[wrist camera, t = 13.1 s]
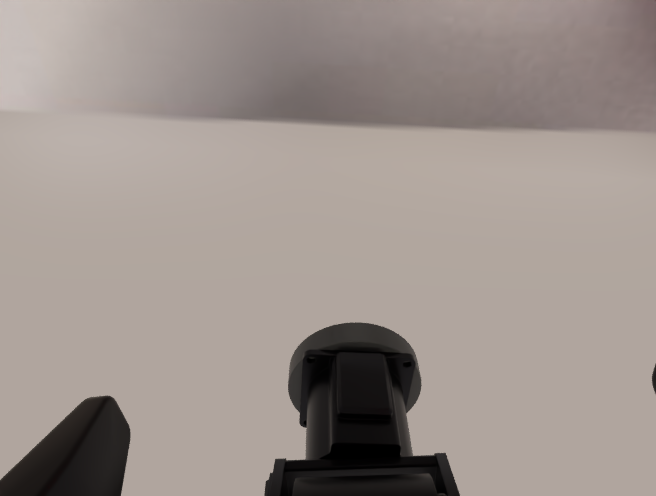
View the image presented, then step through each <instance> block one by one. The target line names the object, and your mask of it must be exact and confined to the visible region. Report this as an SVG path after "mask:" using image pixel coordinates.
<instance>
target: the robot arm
mask: <svg viewBox="0 0 656 496" xmlns="http://www.w3.org/2000/svg"><path fill="white" fill-rule="evenodd" d="M310 357H313V359H311V358H310ZM405 361H409V362H405ZM415 366H416V362H415V357H414V356H413V355H412V354H410V353H394V352H369V351H344V350H320V349H309V350H306V351H305V352H304V353H303V364H302V383H301V403H300V425H301V426H303V427H306V428H307V431H306V432H307V433H306V460H286V459H275V464H274V470H273V473H270V477H269V480H267V481H266V486H265V496H460V494H459V491H458V489H457V485H456V483H455V480H454V477H453V474H452V471H451V468H450V465H449V462H448V459H447V456H446V453H435V454H434V455H426V456H413V453H412V447H411V441H410V435H409V428H408V423H407V416H406V406H407V402H408V397H409V393H410V388H411V384H412V379H413V375H414V370H415ZM652 383H653V388H654V391H655V393H656V364H655V368H654V371H653V374H652ZM129 444H130V428H129V425H128V423H127V421H126V419H125V417H124V415H123V413H122V412H121V410H120V408H119V406H118V404H117V402H116V401H115V399H114V398H112V397H111V396H99V397H90V398H87V399H85V400H84V401H83V402H81V404H79V405H78V406H77V407H76V408H75V409H74V410H73V411H72V412H71V413H70V414H69V415H68V416H67V417H66V418H65V419H64V420H63V421H62V422H60V424H58V425H57V426H56V427H55V428H54V429H53V430H52V431H51V432H50V433H49V434H48V435H47V436H46V437H45V438H44V439H43V440H42V441H41V442H40V443H39V444H37V445H36V446H35V447H34V448H33V449H32V450H31V451H30V452H29V453H28V454H27V455H26V456H25V457H24V458H23V459H22V460H21V461H20V462H19V463H18V464H16V465H15V466H14V467H13V468H12V469H11V470H10V471H9V472H8V473H7V474H6V475H5V476H4V477H3V478H2V479H1V480H0V496H121V491H122V485H123V479H124V473H125V467H126V462H127V456H128V449H129Z"/></svg>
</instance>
